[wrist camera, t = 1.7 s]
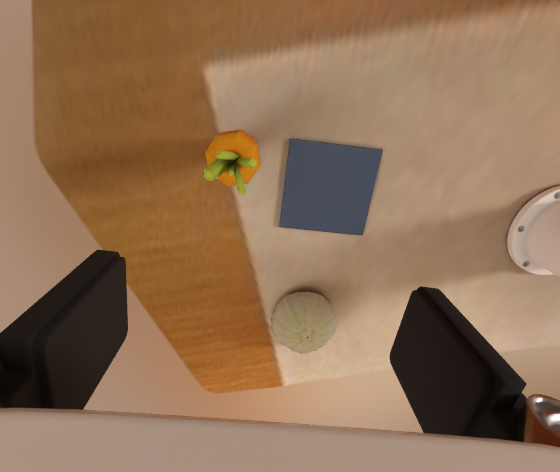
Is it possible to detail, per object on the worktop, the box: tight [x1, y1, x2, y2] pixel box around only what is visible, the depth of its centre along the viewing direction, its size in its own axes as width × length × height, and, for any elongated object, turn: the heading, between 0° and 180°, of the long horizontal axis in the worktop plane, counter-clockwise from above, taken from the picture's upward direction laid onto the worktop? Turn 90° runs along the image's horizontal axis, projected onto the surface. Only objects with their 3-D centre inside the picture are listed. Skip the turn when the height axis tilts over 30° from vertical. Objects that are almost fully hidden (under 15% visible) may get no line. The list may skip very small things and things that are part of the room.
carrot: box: [204, 130, 260, 194], centre depth 31 cm, size 5×5×15 cm
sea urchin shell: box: [271, 291, 336, 354], centre depth 45 cm, size 9×8×8 cm
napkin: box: [279, 139, 382, 235], centre depth 40 cm, size 11×11×1 cm
